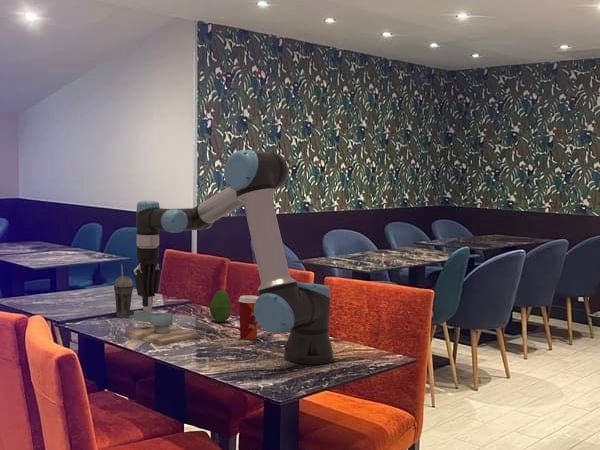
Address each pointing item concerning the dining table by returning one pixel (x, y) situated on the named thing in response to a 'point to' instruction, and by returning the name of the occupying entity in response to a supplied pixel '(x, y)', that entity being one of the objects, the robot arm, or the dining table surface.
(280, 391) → the dining table surface
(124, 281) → the beverage cup
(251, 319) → the paper cup
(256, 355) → the dining table surface
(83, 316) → the dining table surface
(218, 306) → the avocado
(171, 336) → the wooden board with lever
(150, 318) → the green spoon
